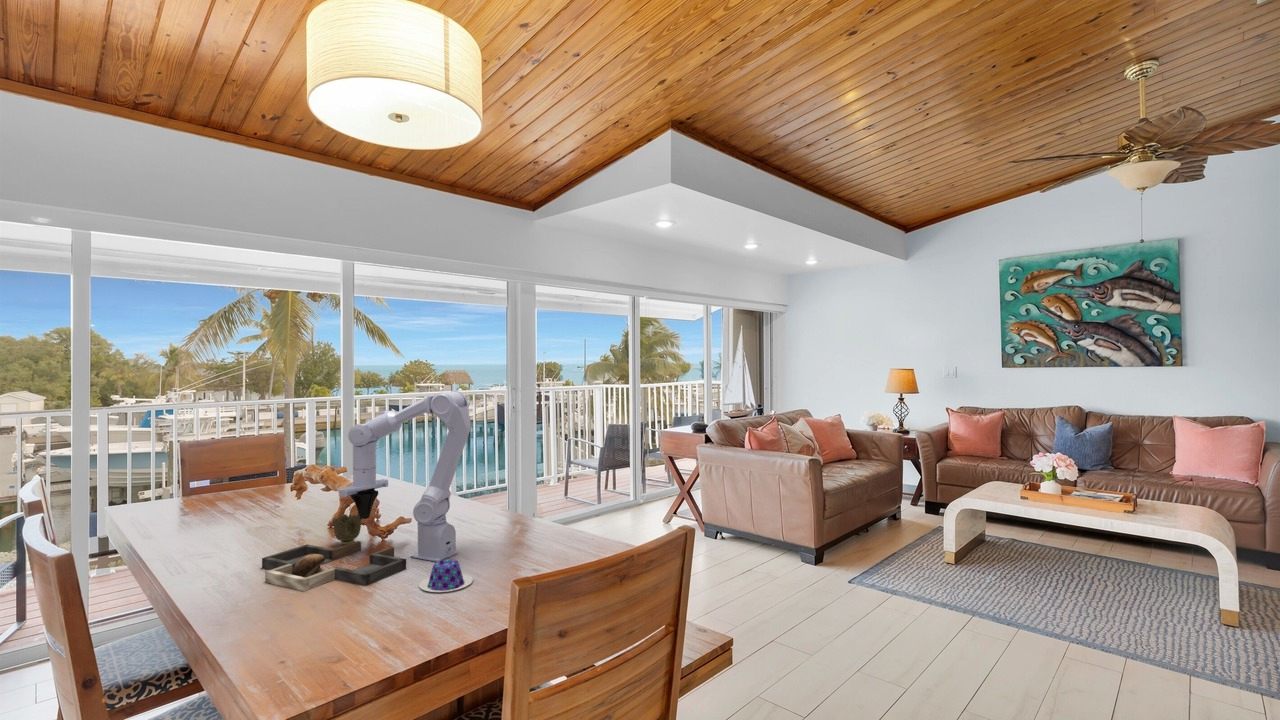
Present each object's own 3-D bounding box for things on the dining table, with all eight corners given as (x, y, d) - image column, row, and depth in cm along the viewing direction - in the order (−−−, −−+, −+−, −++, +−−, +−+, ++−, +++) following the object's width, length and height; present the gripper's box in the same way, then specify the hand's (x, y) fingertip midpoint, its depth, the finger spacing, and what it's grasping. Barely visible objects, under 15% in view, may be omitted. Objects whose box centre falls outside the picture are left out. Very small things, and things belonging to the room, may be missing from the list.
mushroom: (339, 561, 148) (322, 542, 147) (314, 584, 141) (296, 564, 140) (322, 571, 152) (305, 553, 151) (297, 595, 145) (279, 575, 144)
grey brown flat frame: (423, 561, 158) (423, 552, 158) (335, 598, 134) (335, 586, 134) (332, 545, 171) (332, 536, 171) (237, 576, 147) (237, 565, 147)
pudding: (417, 580, 146) (417, 558, 146) (469, 573, 150) (469, 552, 150) (420, 598, 135) (420, 574, 134) (476, 590, 139) (476, 567, 139)
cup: (350, 550, 167) (350, 521, 167) (326, 548, 169) (326, 519, 169) (367, 542, 175) (367, 514, 174) (344, 540, 176) (344, 512, 176)
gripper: (375, 462, 173) (375, 510, 173) (330, 471, 160) (330, 523, 160) (393, 464, 170) (393, 513, 170) (350, 473, 157) (350, 526, 157)
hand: (364, 518), depth 165 cm, fingers closed
